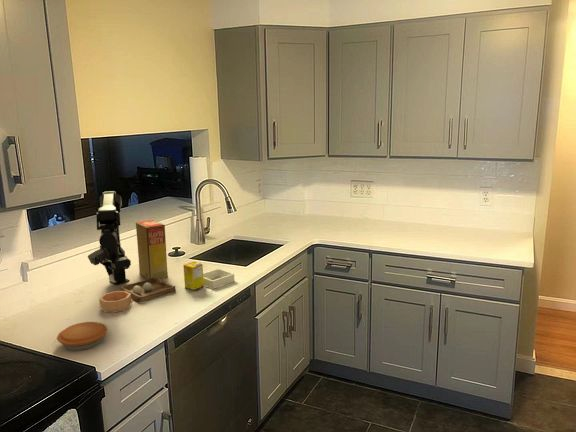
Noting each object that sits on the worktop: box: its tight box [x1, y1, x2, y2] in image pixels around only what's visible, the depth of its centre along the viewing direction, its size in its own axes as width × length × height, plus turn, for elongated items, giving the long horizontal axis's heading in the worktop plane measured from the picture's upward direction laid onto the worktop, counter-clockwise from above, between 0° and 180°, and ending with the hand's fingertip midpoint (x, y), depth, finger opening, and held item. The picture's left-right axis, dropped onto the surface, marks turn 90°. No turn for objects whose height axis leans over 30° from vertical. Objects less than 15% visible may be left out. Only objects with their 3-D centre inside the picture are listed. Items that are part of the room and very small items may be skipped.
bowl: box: [98, 290, 133, 313], centre depth 187 cm, size 11×11×4 cm
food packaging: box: [135, 219, 169, 280], centre depth 220 cm, size 13×9×25 cm
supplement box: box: [183, 261, 205, 292], centre depth 205 cm, size 6×6×11 cm
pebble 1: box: [108, 273, 117, 284], centre depth 185 cm, size 4×4×4 cm
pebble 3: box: [143, 283, 152, 291], centre depth 202 cm, size 4×4×4 cm
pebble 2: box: [133, 286, 142, 294], centre depth 198 cm, size 4×4×4 cm
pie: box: [56, 321, 108, 351], centre depth 159 cm, size 16×16×5 cm
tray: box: [119, 277, 176, 304], centre depth 202 cm, size 17×16×2 cm
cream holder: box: [203, 268, 236, 290], centre depth 213 cm, size 12×13×4 cm
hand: (113, 280), depth 185 cm, fingers closed on pebble 1, 4 cm apart
